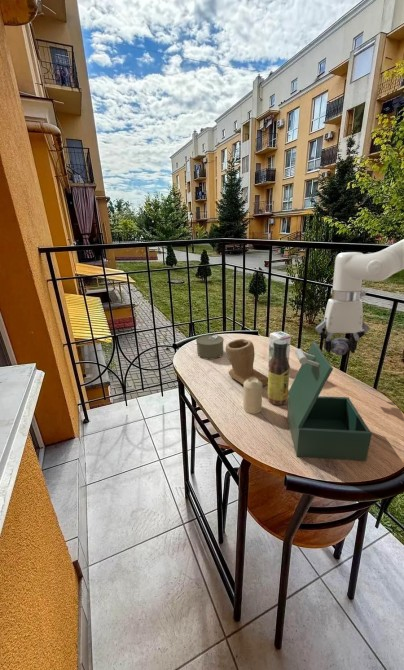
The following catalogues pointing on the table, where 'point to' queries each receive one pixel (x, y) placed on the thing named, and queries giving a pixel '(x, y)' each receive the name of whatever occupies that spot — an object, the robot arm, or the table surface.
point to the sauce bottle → (278, 374)
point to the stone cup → (243, 361)
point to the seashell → (340, 346)
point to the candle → (252, 395)
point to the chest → (331, 431)
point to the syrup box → (278, 336)
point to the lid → (308, 382)
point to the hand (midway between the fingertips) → (339, 350)
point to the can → (210, 346)
